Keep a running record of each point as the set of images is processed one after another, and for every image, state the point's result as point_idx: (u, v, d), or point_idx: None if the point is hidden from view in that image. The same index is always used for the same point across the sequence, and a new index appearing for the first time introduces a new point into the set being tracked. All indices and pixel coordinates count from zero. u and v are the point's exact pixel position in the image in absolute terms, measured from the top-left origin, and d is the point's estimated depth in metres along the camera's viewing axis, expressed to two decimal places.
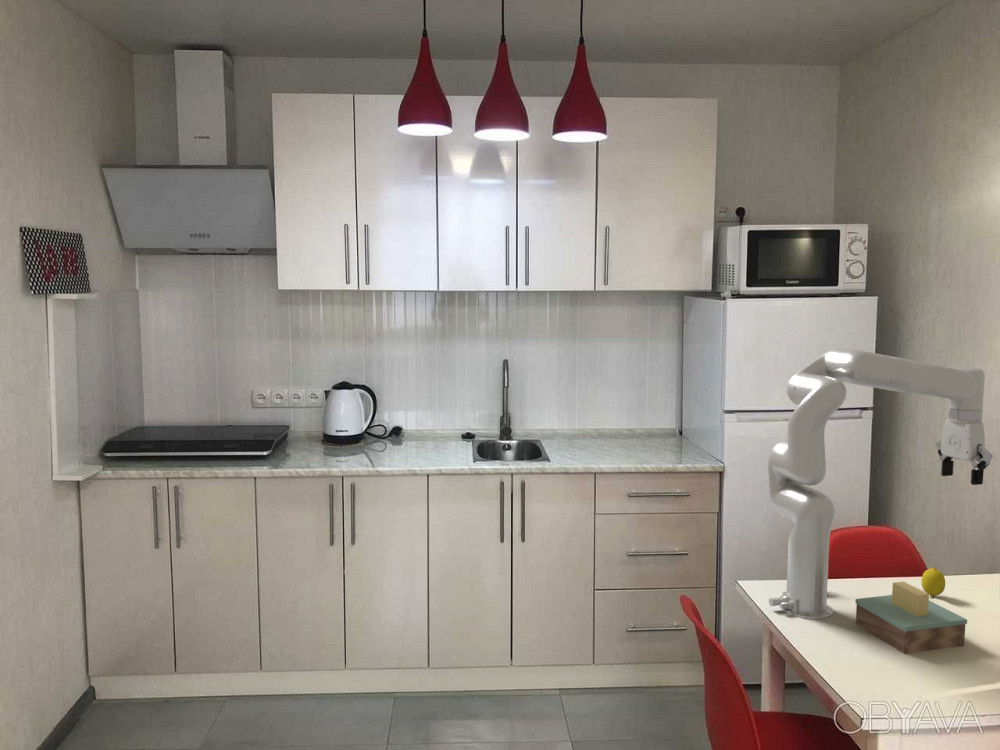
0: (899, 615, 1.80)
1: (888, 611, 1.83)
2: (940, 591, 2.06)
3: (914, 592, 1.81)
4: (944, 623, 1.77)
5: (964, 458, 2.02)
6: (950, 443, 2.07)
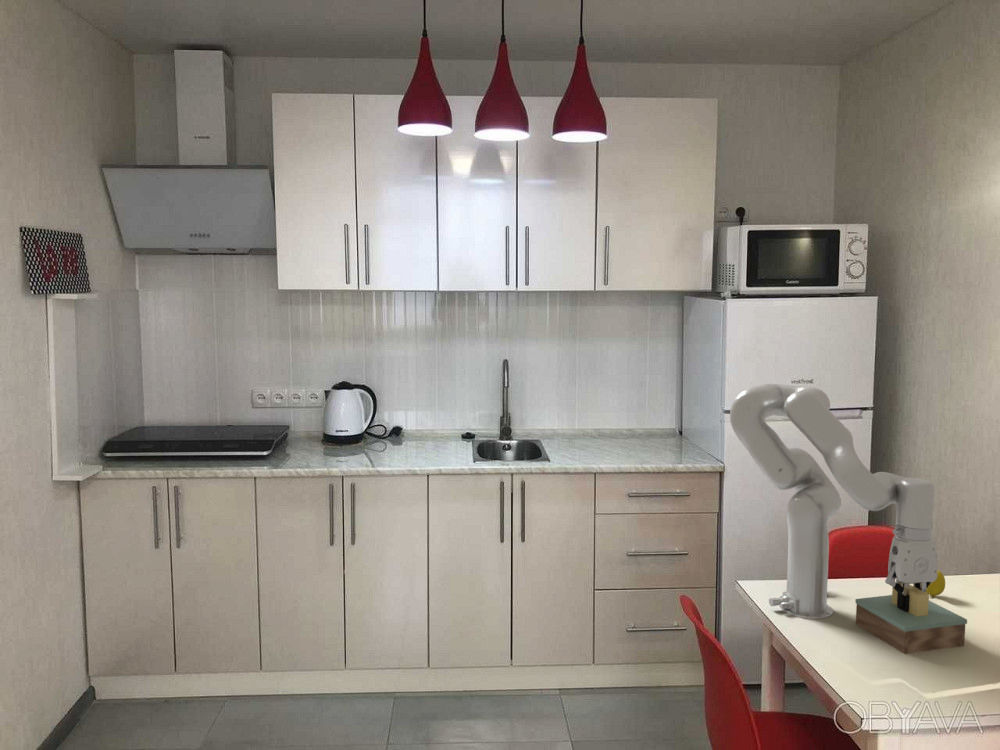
0: (899, 615, 1.80)
1: (888, 611, 1.83)
2: (940, 591, 2.06)
3: (914, 592, 1.81)
4: (944, 623, 1.77)
5: (932, 578, 1.81)
6: (915, 568, 1.80)
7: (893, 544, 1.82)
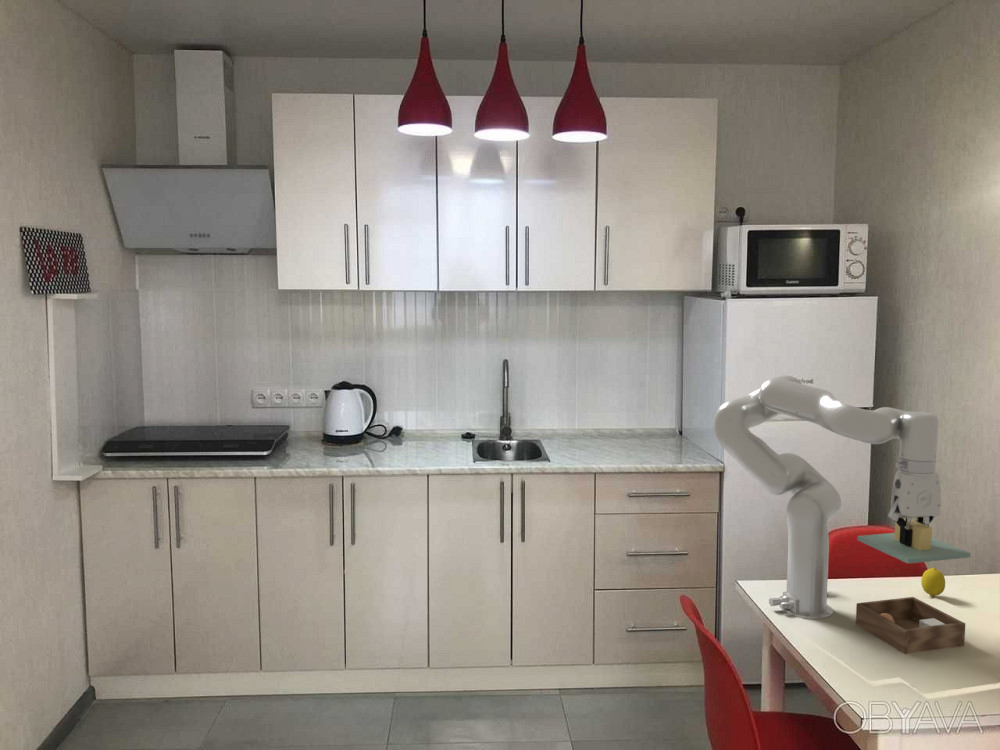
0: (902, 549, 1.79)
1: (890, 546, 1.81)
2: (940, 591, 2.06)
3: (917, 526, 1.79)
4: (947, 556, 1.75)
5: (935, 512, 1.80)
6: (918, 501, 1.78)
7: (896, 478, 1.80)
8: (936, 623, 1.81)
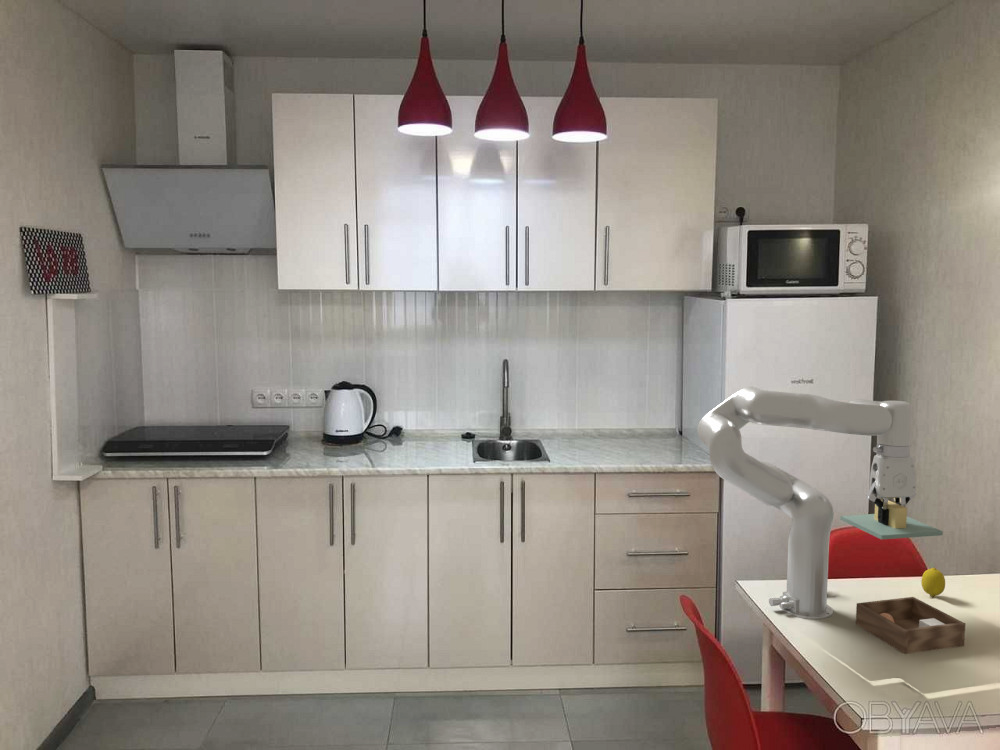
0: (878, 527, 1.94)
1: (869, 524, 1.96)
2: (940, 591, 2.06)
3: (893, 506, 1.94)
4: (920, 533, 1.90)
5: (911, 494, 1.94)
6: (894, 483, 1.93)
7: (874, 462, 1.96)
8: (936, 623, 1.81)
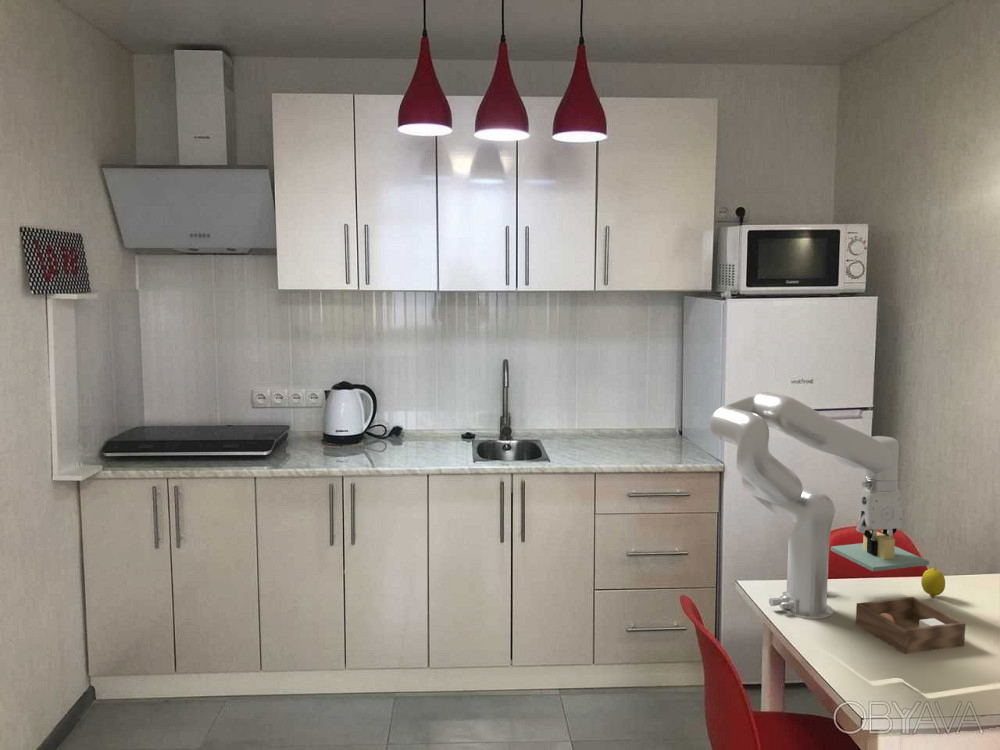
0: (868, 558, 2.02)
1: (859, 555, 2.04)
2: (940, 591, 2.06)
3: (881, 538, 2.02)
4: (908, 564, 1.98)
5: (898, 525, 2.03)
6: (882, 516, 2.01)
7: (863, 495, 2.04)
8: (936, 623, 1.81)
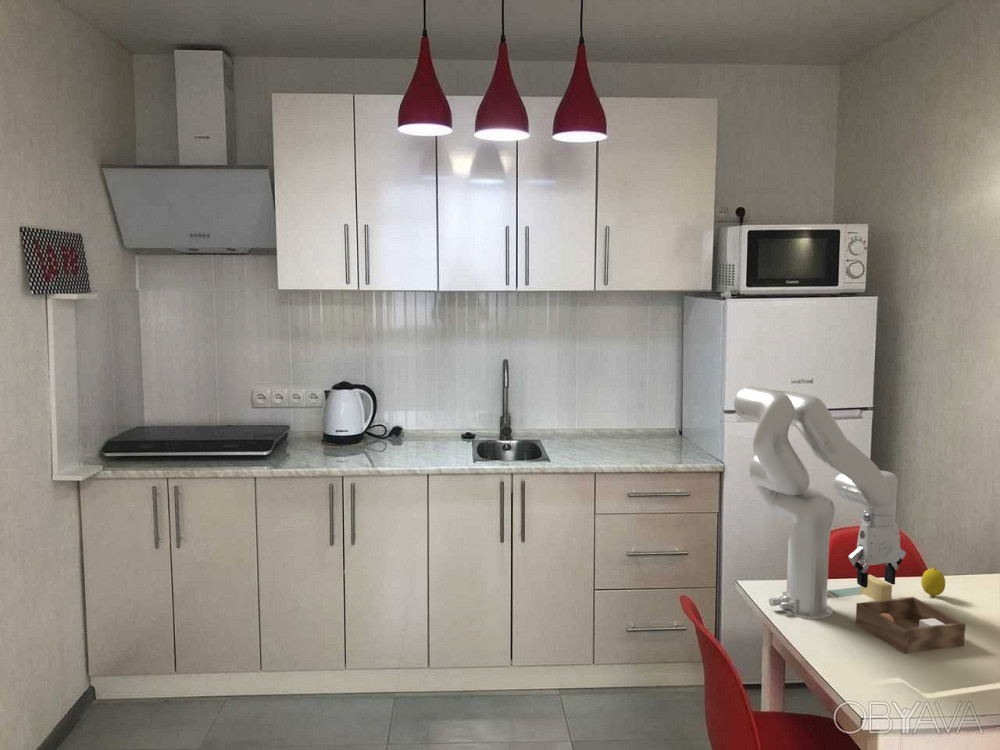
0: None
1: None
2: (940, 591, 2.06)
3: (878, 584, 2.04)
4: None
5: (896, 560, 2.04)
6: (880, 550, 2.02)
7: (861, 529, 2.05)
8: (936, 623, 1.81)
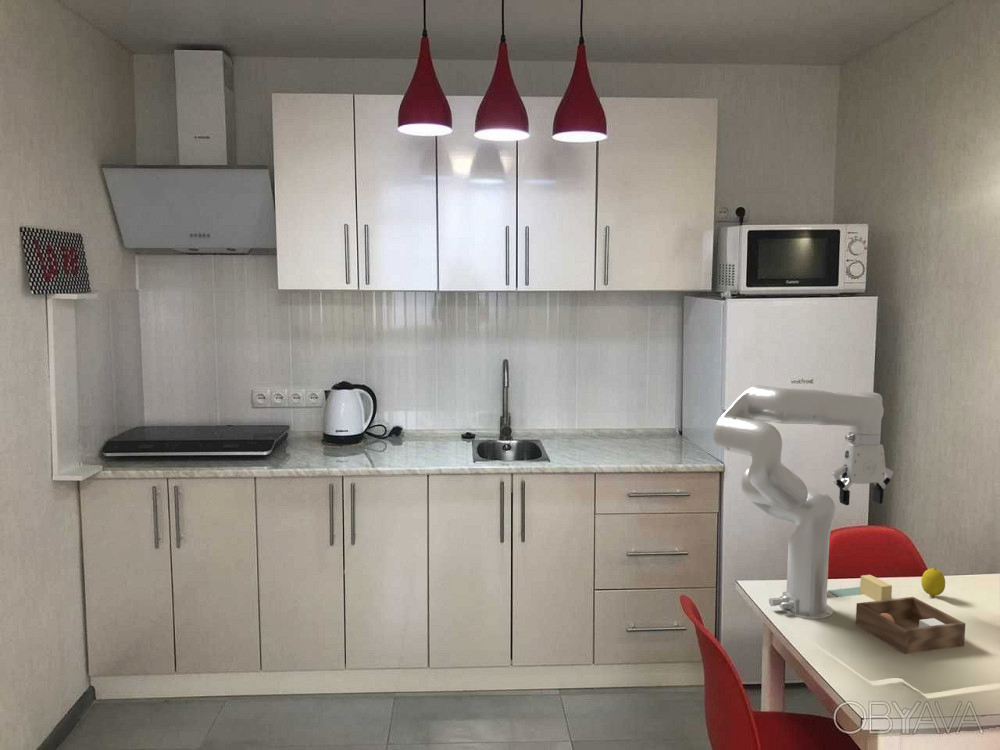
0: None
1: None
2: (940, 591, 2.06)
3: (878, 584, 2.04)
4: None
5: (880, 480, 2.06)
6: (864, 470, 2.04)
7: (846, 449, 2.07)
8: (936, 623, 1.81)
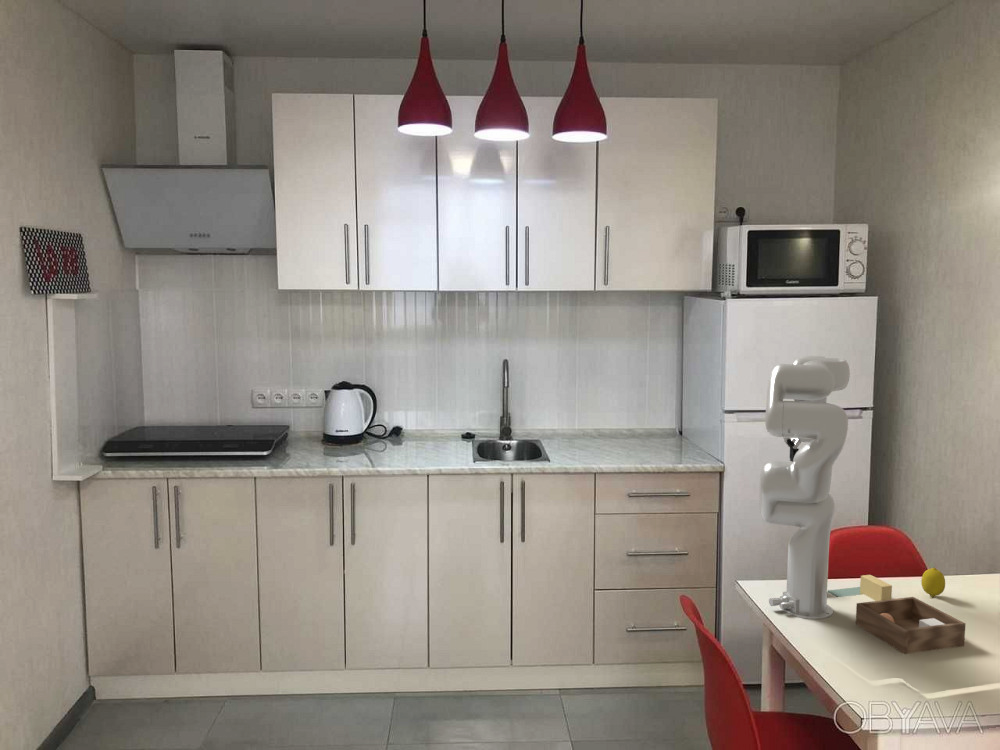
0: None
1: None
2: (940, 591, 2.06)
3: (878, 584, 2.04)
4: None
5: None
6: None
7: None
8: (936, 623, 1.81)
